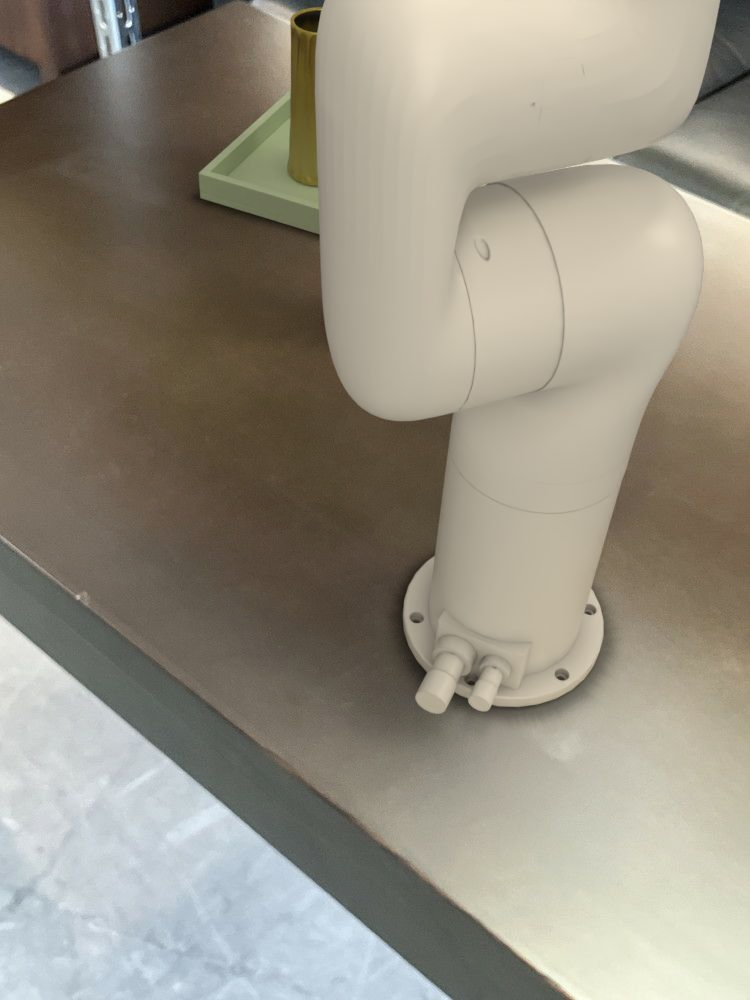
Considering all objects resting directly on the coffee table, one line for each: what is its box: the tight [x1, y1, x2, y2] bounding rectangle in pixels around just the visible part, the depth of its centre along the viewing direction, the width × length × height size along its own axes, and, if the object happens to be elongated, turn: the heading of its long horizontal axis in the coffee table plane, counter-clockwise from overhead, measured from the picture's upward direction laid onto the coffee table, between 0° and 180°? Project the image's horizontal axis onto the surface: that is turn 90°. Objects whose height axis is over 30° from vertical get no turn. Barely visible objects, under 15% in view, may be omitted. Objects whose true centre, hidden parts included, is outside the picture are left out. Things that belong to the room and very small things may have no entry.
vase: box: [287, 6, 323, 186], centre depth 103 cm, size 6×6×14 cm
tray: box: [198, 89, 320, 236], centre depth 107 cm, size 18×16×3 cm
